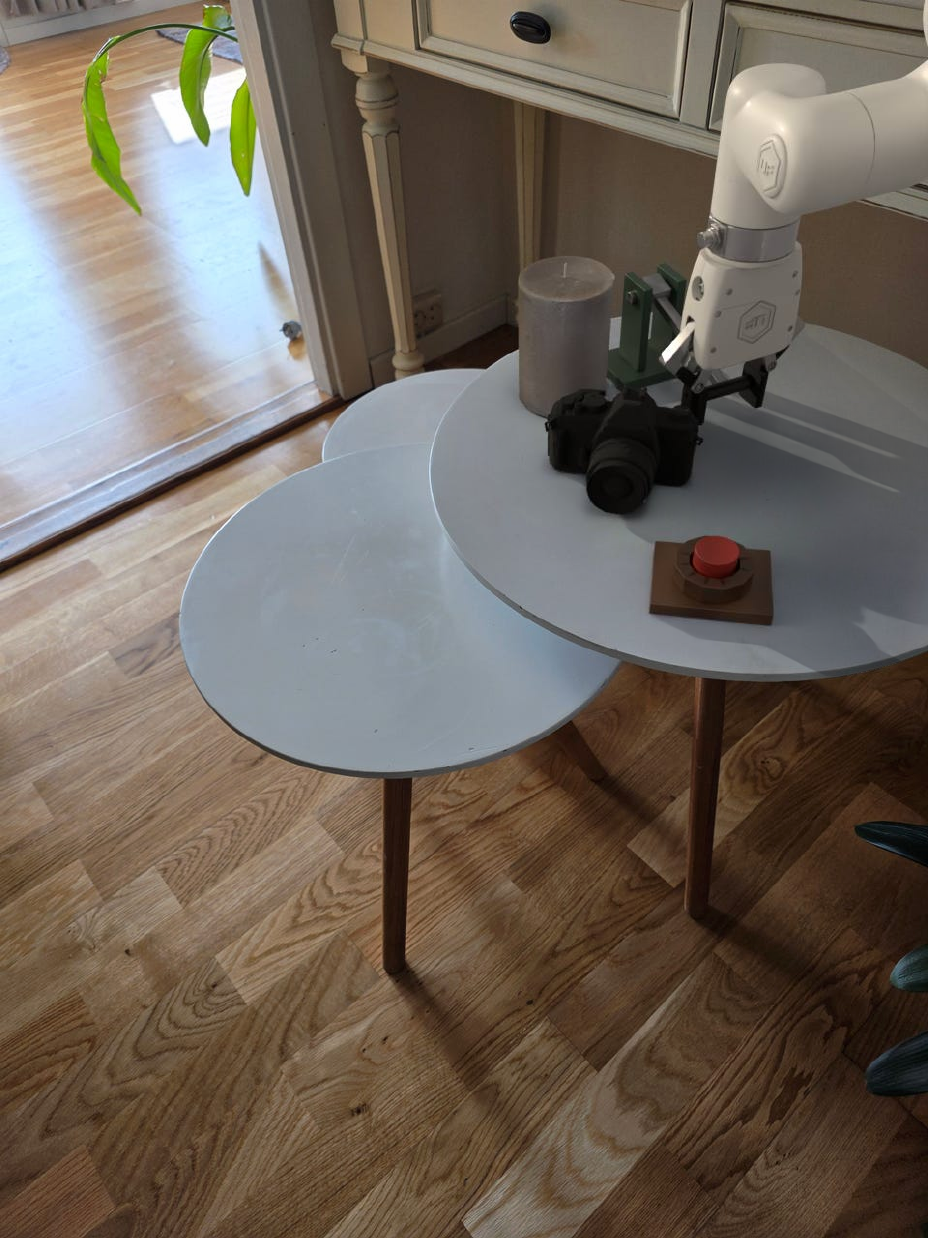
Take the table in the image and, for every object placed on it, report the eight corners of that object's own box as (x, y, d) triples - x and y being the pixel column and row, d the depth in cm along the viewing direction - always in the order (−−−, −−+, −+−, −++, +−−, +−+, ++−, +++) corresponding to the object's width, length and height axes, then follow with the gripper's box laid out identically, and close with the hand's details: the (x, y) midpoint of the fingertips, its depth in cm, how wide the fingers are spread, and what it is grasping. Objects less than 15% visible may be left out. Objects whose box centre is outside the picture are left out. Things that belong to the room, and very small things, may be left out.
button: (735, 552, 75) (739, 537, 74) (736, 581, 73) (739, 566, 71) (692, 548, 76) (695, 533, 74) (691, 577, 73) (694, 562, 72)
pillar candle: (515, 375, 101) (512, 247, 90) (599, 367, 101) (606, 238, 90) (524, 423, 94) (522, 291, 83) (613, 415, 94) (623, 282, 83)
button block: (767, 560, 78) (774, 534, 75) (770, 625, 72) (778, 600, 70) (654, 550, 79) (657, 525, 77) (648, 613, 74) (652, 588, 72)
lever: (750, 394, 88) (757, 376, 86) (698, 409, 87) (705, 392, 85) (669, 286, 96) (674, 268, 94) (621, 299, 95) (625, 281, 93)
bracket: (700, 370, 99) (714, 278, 91) (622, 392, 97) (629, 301, 89) (668, 342, 104) (679, 252, 96) (593, 363, 101) (597, 273, 94)
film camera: (530, 506, 85) (529, 428, 78) (552, 447, 91) (553, 371, 84) (688, 528, 81) (700, 449, 75) (700, 466, 87) (713, 388, 81)
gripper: (688, 273, 71) (665, 453, 84) (863, 227, 75) (815, 406, 88) (642, 238, 76) (627, 413, 89) (808, 196, 80) (771, 371, 93)
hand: (721, 408), depth 89 cm, fingers closed on lever, 6 cm apart
